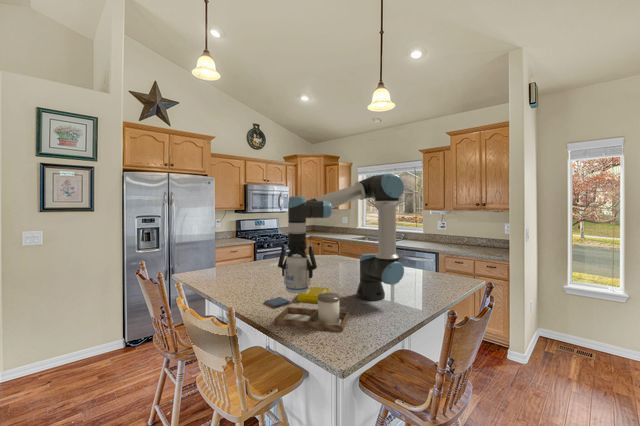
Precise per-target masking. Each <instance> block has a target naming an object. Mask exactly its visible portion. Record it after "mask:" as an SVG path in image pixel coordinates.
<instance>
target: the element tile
mask: <svg viewBox="0 0 640 426" xmlns="http://www.w3.org/2000/svg"><path fill="white" fill-rule="evenodd" d="M322 293H331V289H330V288H329V287H318V286H308V290H307V291H306V292H304V293H297V302H298V303H303V304H305V303H306V304H317V305H318V299H317V296H318V295H319V294H322Z"/></svg>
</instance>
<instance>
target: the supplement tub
mask: <svg viewBox="0 0 640 426" xmlns="http://www.w3.org/2000/svg"><path fill="white" fill-rule="evenodd" d="M286 258H287V260H286V259H285V260H286V285H285V290H286V292H288V293H291V294H298V293H304V292H306V291H307V290H308V287H309V286H307V270H308V268H307V260H308V259H309V256H308V255H307V257H306V258H302V257H301V255H298V254H295V255H294V254H293V255H292V256H291V257H287V256H286Z"/></svg>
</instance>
